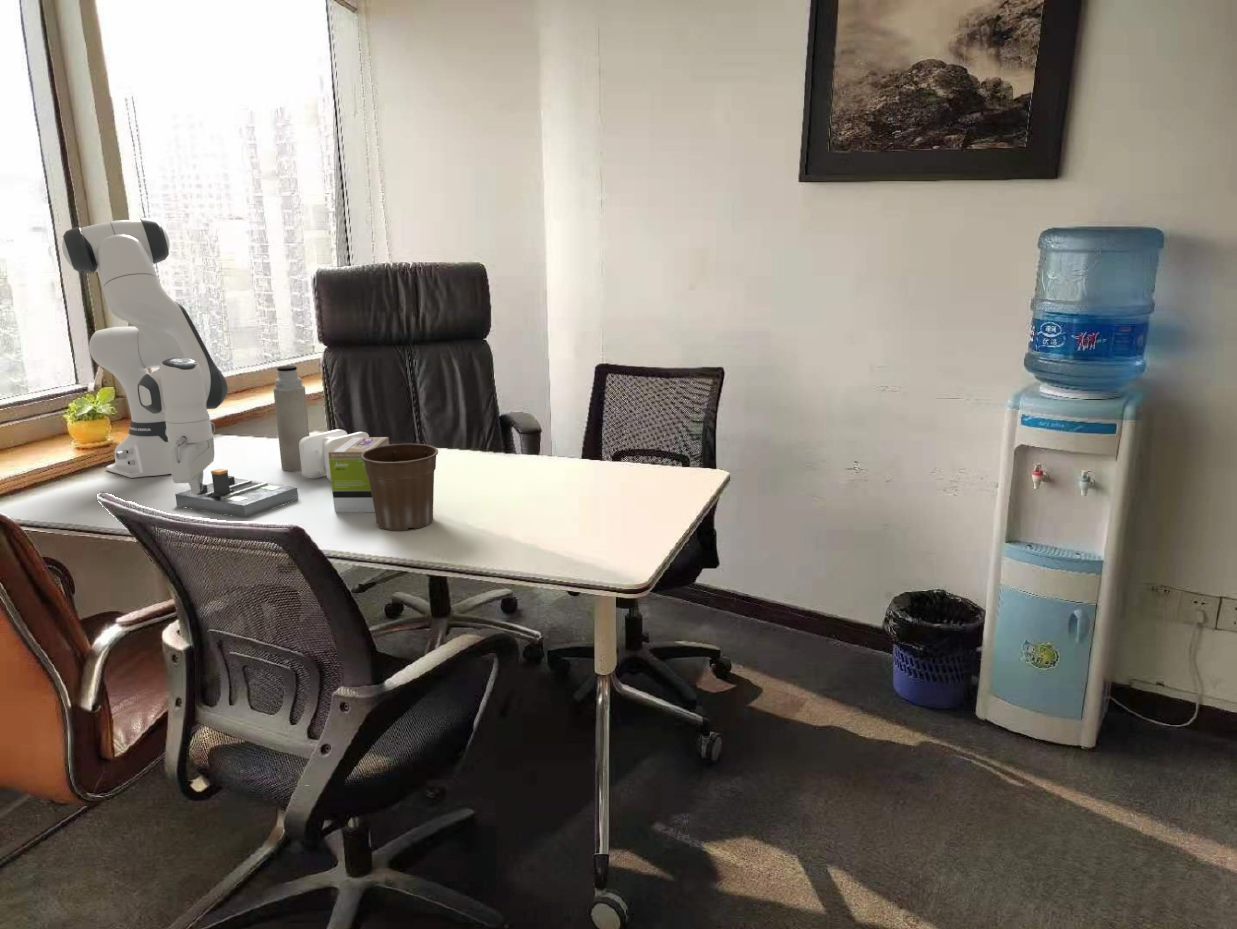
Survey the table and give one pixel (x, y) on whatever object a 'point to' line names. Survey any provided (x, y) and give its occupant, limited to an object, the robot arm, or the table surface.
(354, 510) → the tea box
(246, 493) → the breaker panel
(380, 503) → the plant pot
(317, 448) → the cable organizer
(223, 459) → the table surface
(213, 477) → the breaker lever
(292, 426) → the thermos bottle
